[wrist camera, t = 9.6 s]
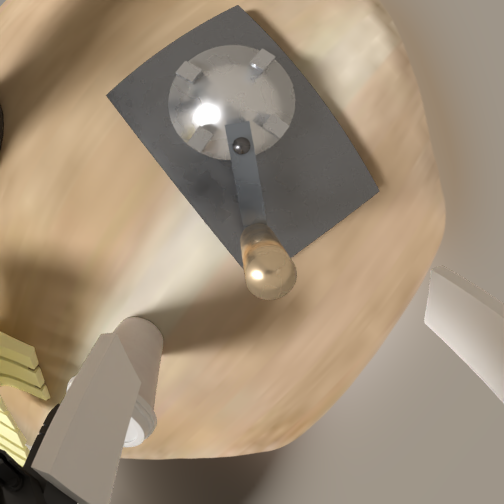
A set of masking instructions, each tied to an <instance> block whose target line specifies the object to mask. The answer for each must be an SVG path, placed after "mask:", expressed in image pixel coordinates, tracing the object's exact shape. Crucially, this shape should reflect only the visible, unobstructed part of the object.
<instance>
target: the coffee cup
mask: <svg viewBox="0 0 504 504" xmlns="http://www.w3.org/2000/svg"><path fill="white" fill-rule="evenodd" d="M113 333H117V335H118V337H119V339H120V341H121V343H122V346H123V348H124V350H125V352H126V354H127V356H128V358H129V360H130V362H131V364H132V366H133V368H134V370H135V372H136V373H137V375H138V377H139V379H140V381H141V386H140V389H139V392H138V396H137V399H136V402H135V406H134V409H133V412H132V416H131V419H130V423H129V426H128V430H127V434H126V437H125V441H124V445H123V447H134V446H137V445H140V444H141V443H142V442H143V441H144V439H146V438H148V437H149V436H150V435H151V434H152V432H153V431H154V429H155V428H156V425H157V418H156V415H155V412H154V403H155V395H156V388H157V381H158V374H159V368H160V361H161V355H162V350H163V336H162V334H161V332H160V331H159V329H158V328H157V327H156V326H155V325H154V324H153V323H151V322H150V321H148V320H146V319H143V318H140V317H130V318H126V319H124V320H123V321H122V322H121V323H120V324H119V325H118V327H117V328H116V329H115V330H114V332H113ZM75 377H76V375H75V376H74V377H72V378H71V379H70V380H69V382H68V385H67V391H68V389H69V387H70V386H71V384H72V382H73V380H74V379H75ZM67 391H66V393H67Z"/></svg>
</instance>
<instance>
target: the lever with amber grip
mask: <svg viewBox="0 0 504 504" xmlns="http://www.w3.org/2000/svg"><path fill="white" fill-rule="evenodd" d="M175 73H176V77H175V79H174V81H173V83H172V86H171V88H170V93H169V99H168V108H169V115H170V119H171V121H172V124H173V126H174V128H175V130H176V132H177V133H178V135H179V136H180V137H181V138H182V139H183V140H184V141H185V142H186V143H187V144H188V145H189V146H190V147H192V148H193V149H195V150H196V151H198V152H200V153H202V154H204V155H206V156H209V157H211V158H215V159H220V160H231V163H232V169H233V174H234V180H235V185H236V191H237V196H238V202H239V207H240V213H241V218H242V224H243V229H244V230H243V232H242V234H241V237H240V245H241V252H242V259H243V267H244V274H245V281H246V285H247V287H248V289H249V290H250V292H251V293H252V294H253V295H255V296H256V297H258V298H261V299H264V300H274V299H278V298H281V297H283V296H285V295H286V294H287V293H288V292H290V290H291V289H292V288H293V286H294V284H295V282H296V277H297V271H296V267H295V265H294V263H293V261H292V260H291V258H290V257H289V255H288V254H287V252H286V251H285V249H284V247H283V246H282V244H281V243H280V241H279V240H278V238H277V237H276V235H275V234H274V232H273V231H272V229H271V228H270V227H268V226H267V220H266V214H265V208H264V202H263V196H262V190H261V184H260V179H259V173H258V167H257V161H256V156H255V155H257V154H259V153H261V152H263V151H265V150H267V149H268V148H270V147H271V146H273V145H274V144H275V143H276V142H277V141H278V140H279V139H280V138H281V137H282V136H283V135H284V134H285V132H286V130H287V129H288V128H289V125H290V123H291V121H292V118H293V115H294V110H295V92H294V88H293V85H292V82H291V80H290V78H289V76H288V74H287V73H286V71H285V70H284V68H283V67H282V66H281V65H280V64H279V63H278V62H277V61H276V60H275V56H274V55H272V54H271V53H269V52H268V51H266V50H264V49H263V48H262V49H261V50H257V49H255V48H251V47H247V46H241V45H225V46H219V47H214V48H211V49H208V50H206V51H204V52H202V53H200V54H198V55H196V56H195V57H193V58H192V59H191V60H189V61H188V62H187V61H185V62H184V63H183V64H182V65H181V66H180V68H179V69H178V70H177V71H176V72H175Z"/></svg>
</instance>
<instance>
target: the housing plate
mask: <svg viewBox="0 0 504 504" xmlns="http://www.w3.org/2000/svg"><path fill="white" fill-rule="evenodd" d="M225 45H241V46H247V47H251V48H255V49H257V50H261V49H262V48H263V49H264V50H266V51H268V52H269V53H271V54H272V55H274V56H275V60H276V61H277V62H278V63H279V64H280V65H281V66H282V67H283V68H284V70H285V71H286V73H287V74H288V76H289V78H290V80H291V82H292V85H293V88H294V92H295V110H294V115H293V118H292V121H291V123H290V125H289V128H288V129H287V130H286V132H285V134H284V135H283V136H282V137H281V138H280V139H279V140H278V141H277V142H276V143H275V144H274V145H273V146H271V147H270V148H268V149H267V150H265V151H263V152H261V153H259V154H257V155H255V156H256V161H257V167H258V173H259V179H260V184H261V190H262V196H263V202H264V208H265V214H266V220H267V226H268V227H270V228H271V229H272V231H273V232H274V234H275V235H276V237H277V238H278V240H279V241H280V243H281V244H282V246H283V247H284V249H285V251H286V252H287V254H288V255H289V257H290V258H291V257H293V256H294V255H295V254H297V253H298V252H299V251H301V250H302V249H304V248H305V247H306V246H308V245H309V244H310V243H312V242H313V241H314V240H316V239H317V238H318V237H320V236H321V235H323V234H324V233H325V232H327V231H328V230H329V229H331V228H332V227H333V226H335V225H336V224H337V223H339V222H340V221H341V220H343V219H344V218H345V217H347V216H348V215H349V214H351V213H352V212H353V211H354V210H356V209H357V208H358V207H360V206H361V205H362V204H364V203H365V202H366V201H368V200H369V199H370V198H371V197H373V196H374V195H375V194H377V193H378V192H379V189H378V187H377V185H376V183H375V182H374V180H373V178H372V176H371V175H370V173H369V171H368V169H367V168H366V166H365V164H364V162H363V161H362V159H361V157H360V156H359V154H358V152H357V151H356V149H355V148H354V146H353V144H352V143H351V141H350V140H349V138H348V137H347V135H346V133H345V132H344V130H343V129H342V127H341V126H340V124H339V123H338V121H337V120H336V119H335V117H334V116H333V114H332V113H331V111H330V110H329V109H328V107H327V106H326V104H325V103H324V102H323V100H322V99H321V98H320V96H319V95H318V93H317V92H316V91H315V90H314V88H313V87H312V86H311V84H310V83H309V82H308V81H307V79H306V78H305V77H304V75H303V74H302V73H301V72H300V71H299V69H298V68H297V67H296V66H295V64H294V63H293V62H292V61H291V60H290V59H289V57H288V56H287V55H286V54H285V53H284V52H283V51H282V49H281V48H280V47H279V46H278V45H277V44H276V43H275V42H274V41H273V40H272V38H271V37H270V36H269V35H268V34H267V33H266V32H265V31H264V30H263V29H262V28H261V27H260V26H259V25H258V24H257V23H256V22H255V21H254V20H253V19H252V18H251V17H250V16H249V15H248V14H247V13H246V12H245V11H244V10H243V9H242V8H241V7H239V6H238V5H237V6H235V7H233V8H231V9H229V10H227V11H225V12H223V13H221V14H219V15H217V16H215V17H213V18H212V19H210V20H208V21H206V22H205V23H203V24H201V25H199V26H198V27H196V28H194V29H193V30H191V31H189V32H188V33H186V34H185V35H183V36H181V37H180V38H178V39H177V40H175V41H174V42H172V43H171V44H169V45H168V46H167V47H165V48H164V49H162V50H161V51H159V52H158V53H157V54H155V55H154V56H153V57H151V58H150V59H149V60H147V61H146V62H145V63H143V64H142V65H141V66H140V67H138V68H137V69H136V70H135V71H133V72H132V73H131V74H130V75H129V76H127V77H126V78H125V79H124V80H123V81H121V82H120V83H119V84H118V85H117V86H116V87H115V88H114V89H112V90H111V91H110V92H109V93H108V94H107V95H106V96H107V97H108V99H109V100H110V101H111V103H112V104H113V105H114V106H115V108H116V109H117V110H118V112H119V113H120V114H121V116H122V117H123V118H124V120H125V121H126V122H127V123H128V125H129V126H130V127H131V129H132V130H133V131H134V133H135V134H136V135H137V136H138V138H139V139H140V140H141V142H142V143H143V144H144V146H145V147H146V148H147V149H148V151H149V152H150V153H151V155H152V156H153V157H154V158H155V160H156V161H157V162H158V163H159V165H160V166H161V167H162V169H163V170H164V171H165V172H166V174H167V175H168V176H169V177H170V179H171V180H172V181H173V183H174V184H175V185H176V186H177V188H178V189H179V190H180V191H181V193H182V194H183V195H184V196H185V198H186V199H187V200H188V201H189V203H190V204H191V205H192V206H193V208H194V209H195V210H196V211H197V213H198V214H199V215H200V216H201V218H202V219H203V220H204V221H205V223H206V224H207V225H208V226H209V228H210V229H211V230H212V231H213V232H214V234H215V235H216V236H217V237H218V239H219V240H220V241H221V242H222V244H223V245H224V246H225V247H226V248H227V250H228V251H229V252H230V253H231V255H232V256H233V257H234V258H235V260H236V261H237V262H238V263H239V264H240V266H241V267H242V268H243V269H244V267H243V259H242V252H241V245H240V237H241V234H242V232H243V230H244V229H243V224H242V218H241V213H240V207H239V202H238V196H237V191H236V185H235V180H234V174H233V169H232V163H231V160H220V159H215V158H211V157H209V156H206V155H204V154H202V153H200V152H198V151H196V150H195V149H193V148H192V147H190V146H189V145H188V144H187V143H186V142H185V141H184V140H183V139H182V138H181V137H180V136H179V135H178V133H177V132H176V130H175V128H174V126H173V124H172V121H171V119H170V115H169V108H168V99H169V93H170V88H171V86H172V83H173V81H174V79H175V77H176V73H175V72H176V71H177V70H178V69H179V68H180V66H181V65H182V64H183V63H184V62H185V61H187V62H188V61H189V60H191V59H192V58H193V57H195V56H196V55H198V54H200V53H202V52H204V51H206V50H208V49H211V48H214V47H219V46H225Z"/></svg>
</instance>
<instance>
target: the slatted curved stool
mask: <svg viewBox="0 0 504 504" xmlns="http://www.w3.org/2000/svg"><path fill="white" fill-rule="evenodd" d="M38 364H39V362H38V359H37V356H36V352H35V348H34V347H33V346H30V345H28V344H26V343H24V342H21V341H19V340H17V339H15V338H13V337H11V336H9V335H7V334H5V333H3V332H1V331H0V386H4V385H6V386H11V387H15V388H18V389H20V390H23V391H25V392H27V393H30V394H32V395H34V396H36V397H39V398H41V399H43V400H45V401H46V400H47V399H49V398H51V397H50V395H49V392H48V389H47V387H46V385H44V382H45V381H44V378H43V375H42V372H41V369H40V367H38V366H37V365H38ZM6 409H7V407H6V405H5V403H4V401H3V399H2V397H1V395H0V449H1V450H5V451H6V452H7V453H8V454H9V455H10V456H11V457H12V458H13V459H14V460H15V461H16V462H17V463H18V464H19V465H20V466H21V467H23V465H24V464H25V461H26V459H27V457H28V455H29V452H30V451H29V449H28V448H27V447H26V446H25V444H26V442H27V440H26V439H25V437H24V436H23V434H22V432H21V431H20V429H18V428H17V424H16V423H15V421H14V419H13V418H12V416H11V414H10V412H9V411H7V410H6Z"/></svg>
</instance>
